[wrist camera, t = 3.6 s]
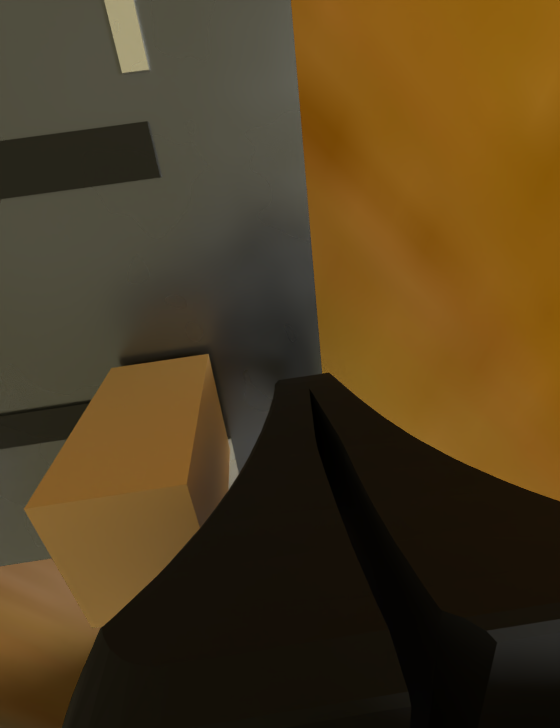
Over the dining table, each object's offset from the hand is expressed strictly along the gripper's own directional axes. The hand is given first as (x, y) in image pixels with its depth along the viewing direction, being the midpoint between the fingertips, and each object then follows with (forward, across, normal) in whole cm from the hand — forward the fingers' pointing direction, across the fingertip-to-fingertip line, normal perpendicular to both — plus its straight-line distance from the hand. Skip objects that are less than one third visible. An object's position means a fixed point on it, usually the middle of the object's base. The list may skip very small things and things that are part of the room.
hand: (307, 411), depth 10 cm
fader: (+1, +3, 0) cm, 4 cm away
